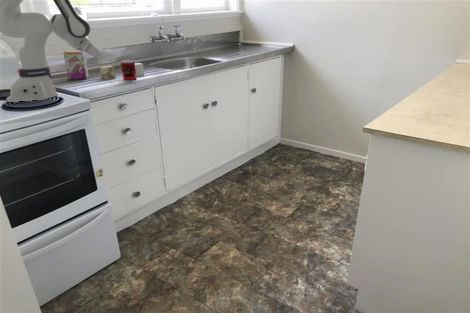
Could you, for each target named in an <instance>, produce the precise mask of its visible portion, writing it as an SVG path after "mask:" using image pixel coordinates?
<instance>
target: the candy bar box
mask: <svg viewBox="0 0 470 313" xmlns="http://www.w3.org/2000/svg"><path fill="white" fill-rule="evenodd" d="M85 53H86V52H84V51H80V50H79V51H77V50H66V51H63V57H64V62H65V66H66V67H65V68H66V72H67V77H68V80H87V79H90V75H89V69H88V63H87V58H86V54H85Z"/></svg>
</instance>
